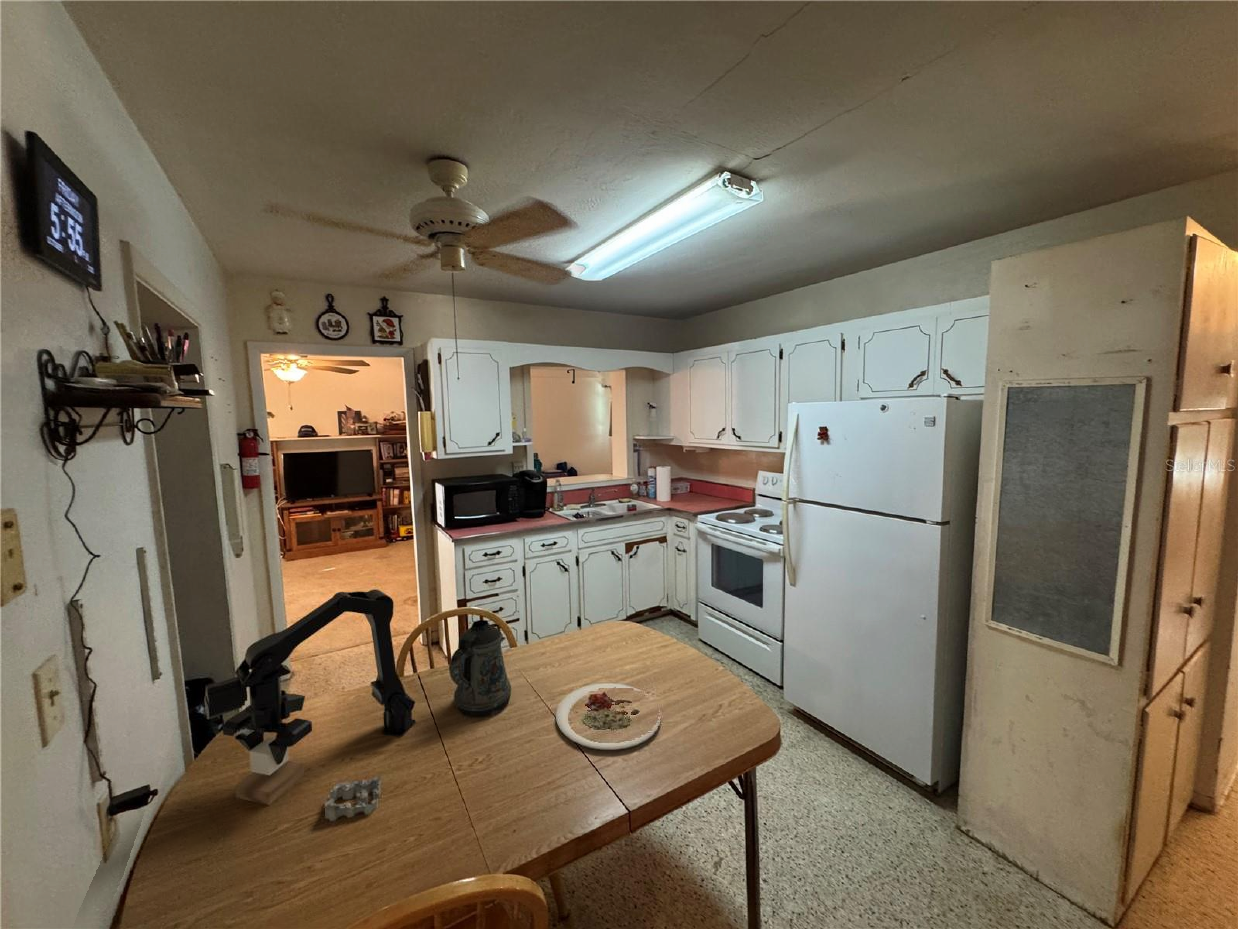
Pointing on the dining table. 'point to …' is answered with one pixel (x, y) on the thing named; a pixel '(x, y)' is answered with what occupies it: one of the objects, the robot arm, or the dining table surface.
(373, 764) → the dining table surface
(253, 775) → the walnut base
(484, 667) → the beer stein
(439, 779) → the dining table surface
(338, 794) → the egg carton
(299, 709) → the robot arm
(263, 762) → the cream block
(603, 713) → the plated food
